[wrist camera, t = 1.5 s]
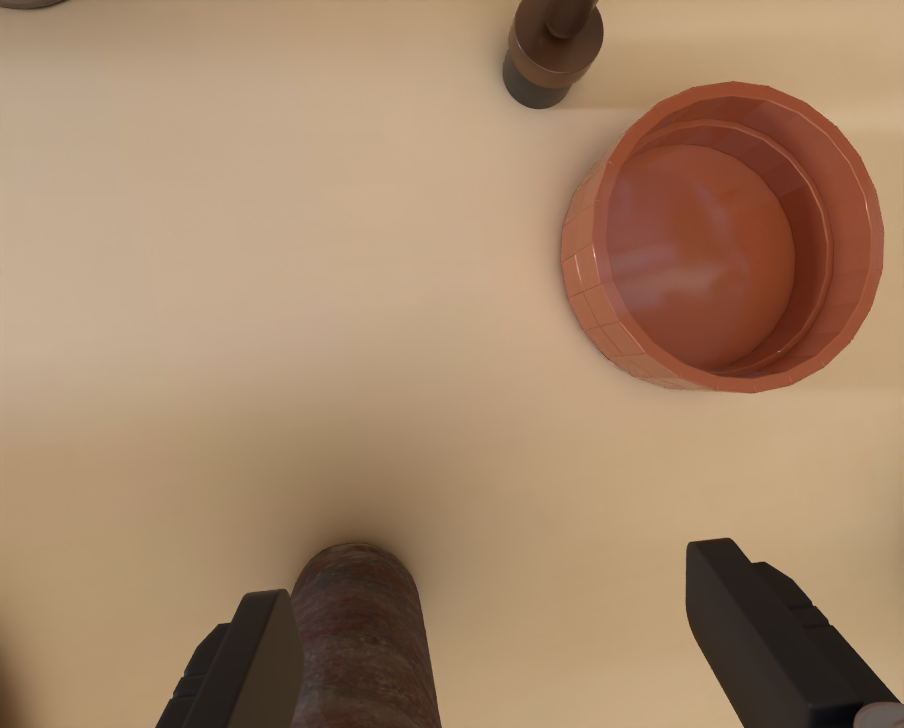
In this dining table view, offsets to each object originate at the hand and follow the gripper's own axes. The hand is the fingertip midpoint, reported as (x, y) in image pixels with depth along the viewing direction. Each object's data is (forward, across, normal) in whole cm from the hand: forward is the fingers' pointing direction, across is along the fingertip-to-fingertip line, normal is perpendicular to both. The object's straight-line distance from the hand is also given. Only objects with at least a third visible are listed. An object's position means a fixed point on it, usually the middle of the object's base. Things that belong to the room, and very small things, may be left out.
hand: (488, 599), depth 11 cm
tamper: (+29, -7, -13) cm, 33 cm away
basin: (+26, -15, -1) cm, 30 cm away
